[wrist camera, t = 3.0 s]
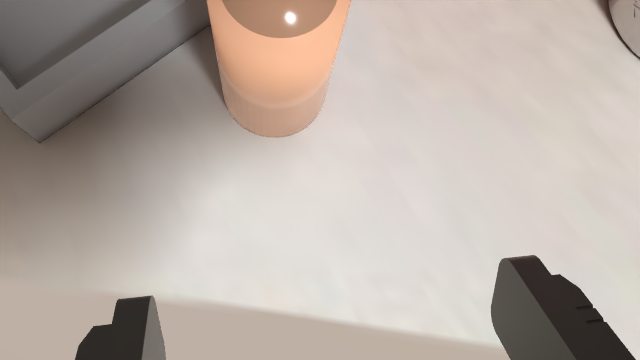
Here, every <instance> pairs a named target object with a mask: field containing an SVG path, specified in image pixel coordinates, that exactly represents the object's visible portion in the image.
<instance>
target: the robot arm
mask: <svg viewBox="0 0 640 360" xmlns="http://www.w3.org/2000/svg"><path fill="white" fill-rule="evenodd" d="M609 9H610V12H611V16H612V19H613V22H614V25H615V26H616V28H617V30H618V32H619V34H620V35H621V37H622V39H623V40H624V41H625V43H626V44H627V45H628V46H629V47H630V49H631V50H632V51H633V52H634V53H635V54H636V55H638V56H639V57H640V0H609ZM491 317H492V322H493V326H494V329H495V332H496V334H497V335H498V337H499V339H500V341H501V343H502V345H503V346H504V348H505V350H506V352H507V354H508V355H509V357H510V359H511V360H636V359H635V358H634V357H633V356H632V354H631V353H630V352H629V351H628V349H627V348H626V347H625V345H624V344H623V343H622V342H621V340H620V339H619V338H618V337H617V335H616V334H615V333H614V331H613V330H612V329H611V328H610V326H609V325H608V324H607V322H604V321H603V317H602V316H601V315H600V314H599V312H598V311H597V310H596V308H593V305H592V303H591V302H590V301H589V300H588V298H587V297H586V296H585V294H584V293H583V292H582V291H581V289H580V288H579V287H577V286H576V285H574V284H573V283H571V282H570V281H569V280H567V279H566V278H564V277H563V276H561V275H560V274H558V275H551V274H550V273H549V271H548V270H547V269H546V267H545V266H544V265H543V263H542V262H541V261H540V259H539V258H538V257H537V256H535V255H530V256H521V257H512V258H504V259H502V260H501V261H500V264H499V268H498V273H497V278H496V284H495V289H494V294H493V299H492V304H491ZM75 360H166V357H165V347H164V341H163V337H162V332H161V327H160V322H159V317H158V312H157V308H156V303H155V299H154V297H153V296H144V297H135V298H126V299H118V300H117V303H116V306H115V312H114V316H113V321H112V324H109V325H101V326H93V328H92V329H91V330H90V332H89V333H88V334H87V336H86V337H85V338H84V339H83V341H82V342H81V343H80V345H79V347H78V351H77V354H76V358H75Z"/></svg>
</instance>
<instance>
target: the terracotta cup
mask: <svg viewBox="0 0 640 360" xmlns="http://www.w3.org/2000/svg"><path fill="white" fill-rule="evenodd" d="M350 3H351V0H207V5H208V11H209V16H210V22H211V28H212V34H213V39H214V45H215V51H216V56H217V62H218V68H219V74H220V79H221V85H222V91H223V96H224V101H225V104H226V106H227V109H228V111H229V112H230V114H231V115H232V117H233V118H234V119H235V120H236V121H237V122H238V123H239V124H240V125H241V126H242V127H243V128H245V129H247V130H248V131H250V132H252V133H255V134H257V135H261V136H265V137H285V136H290V135H292V134H295V133H297V132H299V131H301V130H303V129H304V128H306V127H307V126H308V125H310V124H311V123H312V122H313V121H314V119H315V118H316V117H317V115H318V114H319V112H320V110H321V108H322V105H323V102H324V98H325V94H326V91H327V87H328V84H329V80H330V76H331V73H332V69H333V65H334V62H335V58H336V54H337V51H338V47H339V43H340V40H341V36H342V32H343V29H344V25H345V21H346V18H347V14H348V10H349V7H350Z"/></svg>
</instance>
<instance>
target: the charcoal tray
mask: <svg viewBox="0 0 640 360" xmlns="http://www.w3.org/2000/svg"><path fill="white" fill-rule="evenodd" d="M210 24H211V22H210V16H209V11H208V5H207V0H0V107H1V109H2V110H3V111H4V112H5V114H6V115H7V116H8V118H9V119H10V120H11V121H12V122H14V123H15V124H16V125H17V126H19V127H20V128H21V129H22V130H24V131H25V132H26V133H27V134H29V135H30V136H31V137H32V138H34V139H35V140H36V141H37V142H39V143H41V142H42V141H44V140H45V139H47V138H48V137H49V136H51V135H52V134H54V133H55V132H57V131H58V130H59V129H61V128H62V127H64V126H65V125H67V124H68V123H69V122H71V121H72V120H74V119H75V118H77V117H78V116H80V115H81V114H82V113H84V112H85V111H87V110H88V109H90V108H91V107H92V106H94V105H95V104H97V103H98V102H100V101H101V100H102V99H104V98H105V97H107V96H108V95H110V94H111V93H113V92H114V91H115V90H117V89H118V88H120V87H121V86H123V85H124V84H125V83H127V82H128V81H130V80H131V79H133V78H134V77H135V76H137V75H138V74H140V73H141V72H143V71H144V70H145V69H147V68H148V67H150V66H151V65H153V64H154V63H156V62H157V61H158V60H160V59H161V58H163V57H164V56H166V55H167V54H168V53H170V52H171V51H173V50H174V49H176V48H177V47H178V46H180V45H181V44H183V43H184V42H186V41H187V40H189V39H190V38H191V37H193V36H194V35H196V34H197V33H199V32H200V31H201V30H203V29H204V28H206V27H207V26H209V25H210Z"/></svg>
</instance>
